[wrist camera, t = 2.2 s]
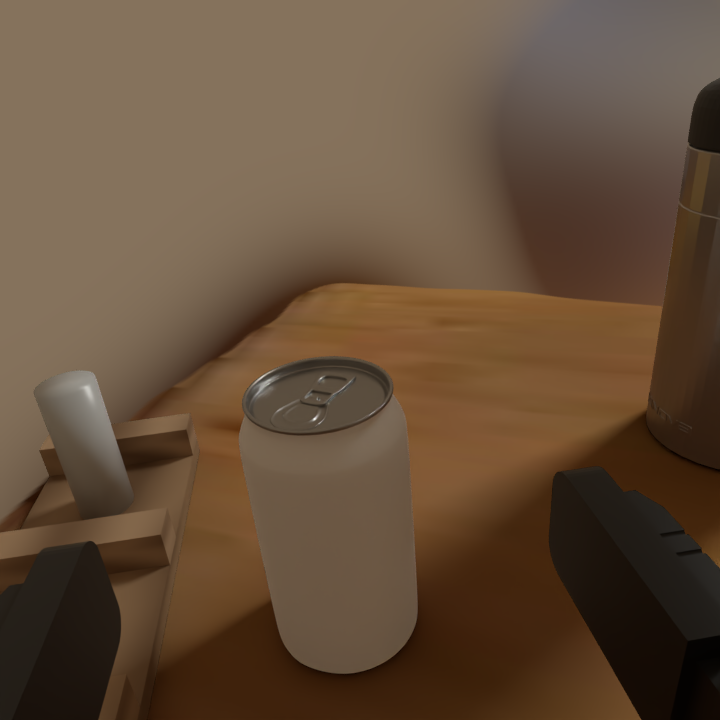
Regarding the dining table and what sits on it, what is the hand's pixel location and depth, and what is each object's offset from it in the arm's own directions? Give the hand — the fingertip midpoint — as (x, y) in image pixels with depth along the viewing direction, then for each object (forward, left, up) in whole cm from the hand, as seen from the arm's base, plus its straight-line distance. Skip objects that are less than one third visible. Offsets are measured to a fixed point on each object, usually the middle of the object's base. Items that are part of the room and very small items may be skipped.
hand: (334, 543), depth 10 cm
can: (0, -11, -15) cm, 19 cm away
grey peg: (+13, -21, -14) cm, 28 cm away
